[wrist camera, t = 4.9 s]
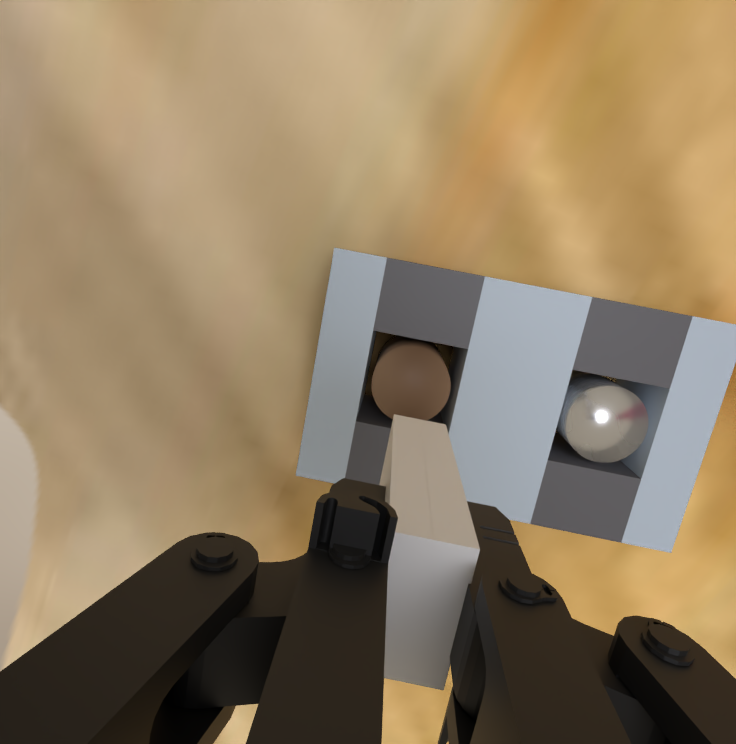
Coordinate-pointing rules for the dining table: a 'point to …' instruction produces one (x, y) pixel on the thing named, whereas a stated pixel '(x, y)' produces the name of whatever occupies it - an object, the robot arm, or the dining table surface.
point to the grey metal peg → (601, 418)
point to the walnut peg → (410, 379)
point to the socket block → (521, 393)
